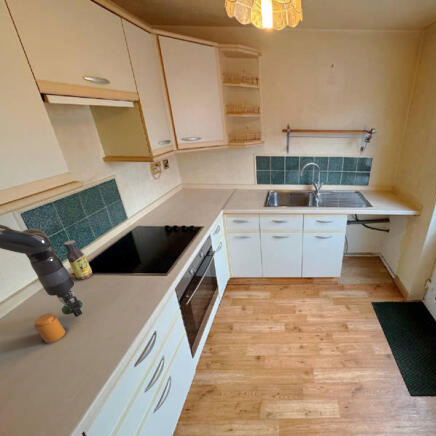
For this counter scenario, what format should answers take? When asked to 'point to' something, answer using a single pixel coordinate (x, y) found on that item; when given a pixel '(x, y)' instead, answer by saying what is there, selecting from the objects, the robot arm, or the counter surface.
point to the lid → (67, 310)
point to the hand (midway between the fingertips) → (75, 311)
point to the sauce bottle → (77, 261)
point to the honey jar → (49, 327)
